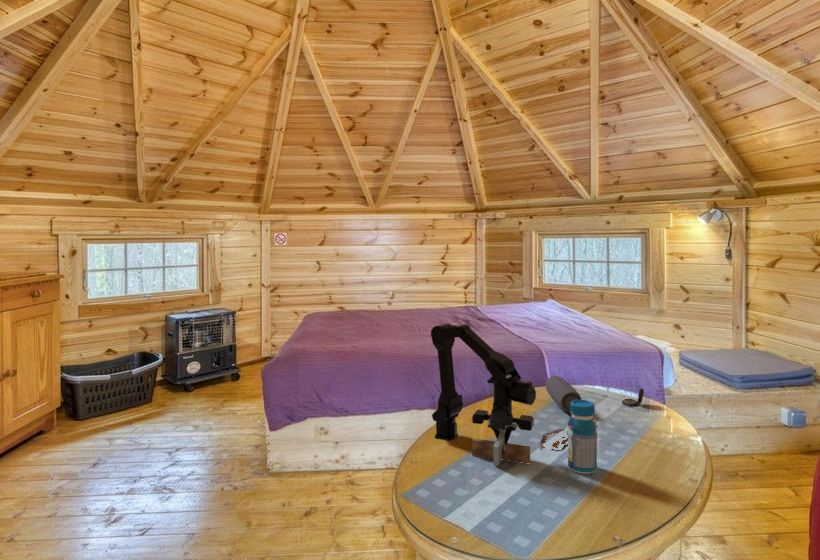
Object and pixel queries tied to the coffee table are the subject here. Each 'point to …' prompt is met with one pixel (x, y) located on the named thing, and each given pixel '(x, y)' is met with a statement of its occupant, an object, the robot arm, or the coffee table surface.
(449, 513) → the coffee table surface
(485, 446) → the stepped wooden block
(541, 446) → the wooden fragment
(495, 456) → the tapered grey plank
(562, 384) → the bluetooth speaker
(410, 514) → the coffee table surface
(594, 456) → the beverage bottle
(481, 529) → the coffee table surface
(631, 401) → the compass
